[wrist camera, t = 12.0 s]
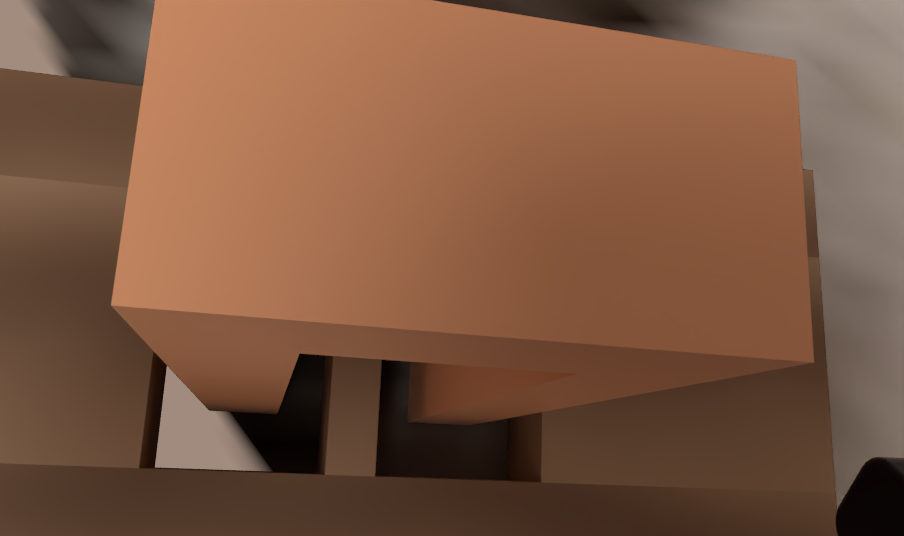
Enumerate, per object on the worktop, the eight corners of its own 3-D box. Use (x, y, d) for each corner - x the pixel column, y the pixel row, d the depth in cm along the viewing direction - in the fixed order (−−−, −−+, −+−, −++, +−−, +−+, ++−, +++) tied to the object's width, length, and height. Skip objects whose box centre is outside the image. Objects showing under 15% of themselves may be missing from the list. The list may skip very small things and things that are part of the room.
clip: (468, 425, 20) (813, 362, 8) (209, 410, 19) (110, 306, 6) (473, 302, 21) (795, 59, 8) (223, 280, 19) (162, -45, 7)
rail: (776, 583, 21) (842, 598, 18) (-238, 573, 16) (-324, 592, 14) (755, 200, 23) (812, 170, 21) (-133, 98, 18) (-191, 44, 16)
